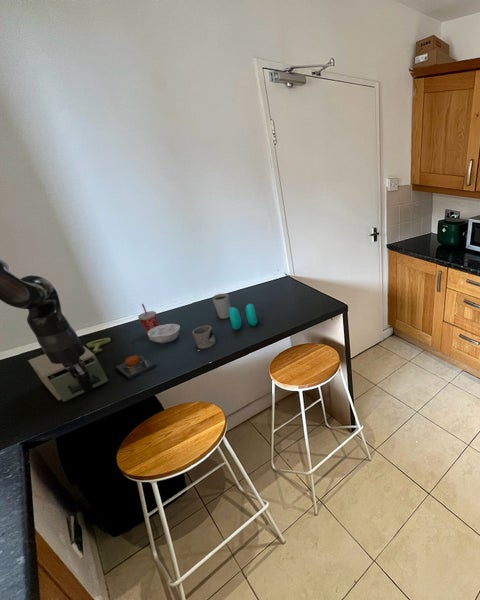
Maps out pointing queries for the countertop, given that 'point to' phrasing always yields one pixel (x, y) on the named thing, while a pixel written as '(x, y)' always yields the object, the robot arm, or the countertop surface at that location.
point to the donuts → (237, 320)
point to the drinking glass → (222, 305)
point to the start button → (132, 360)
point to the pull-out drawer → (70, 387)
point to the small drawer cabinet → (53, 368)
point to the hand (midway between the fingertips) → (88, 389)
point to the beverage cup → (148, 319)
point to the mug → (204, 336)
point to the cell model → (164, 333)
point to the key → (98, 344)
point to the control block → (135, 367)
